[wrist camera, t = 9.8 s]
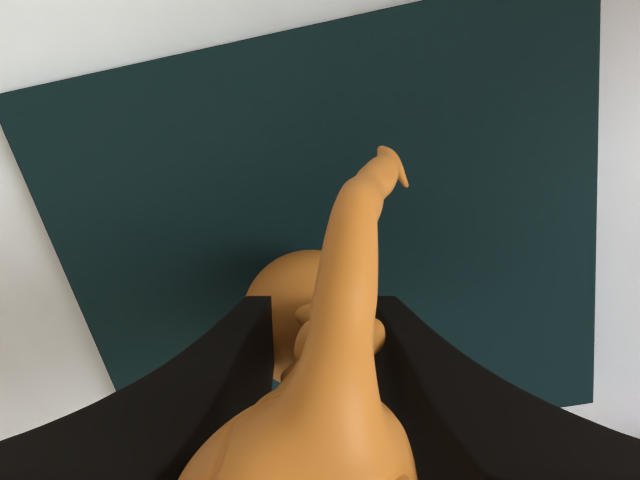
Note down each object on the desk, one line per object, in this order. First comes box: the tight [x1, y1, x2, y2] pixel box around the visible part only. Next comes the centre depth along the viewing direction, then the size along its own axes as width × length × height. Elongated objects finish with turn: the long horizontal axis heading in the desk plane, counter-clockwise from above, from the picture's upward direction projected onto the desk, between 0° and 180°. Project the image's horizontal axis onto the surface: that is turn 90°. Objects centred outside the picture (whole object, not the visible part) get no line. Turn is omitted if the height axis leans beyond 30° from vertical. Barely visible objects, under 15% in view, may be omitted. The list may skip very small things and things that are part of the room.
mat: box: [0, 0, 601, 408], centre depth 15 cm, size 18×15×1 cm
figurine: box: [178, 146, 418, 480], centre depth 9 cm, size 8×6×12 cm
